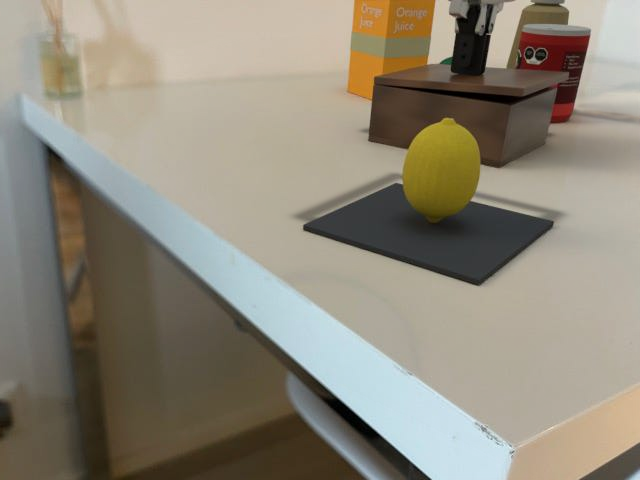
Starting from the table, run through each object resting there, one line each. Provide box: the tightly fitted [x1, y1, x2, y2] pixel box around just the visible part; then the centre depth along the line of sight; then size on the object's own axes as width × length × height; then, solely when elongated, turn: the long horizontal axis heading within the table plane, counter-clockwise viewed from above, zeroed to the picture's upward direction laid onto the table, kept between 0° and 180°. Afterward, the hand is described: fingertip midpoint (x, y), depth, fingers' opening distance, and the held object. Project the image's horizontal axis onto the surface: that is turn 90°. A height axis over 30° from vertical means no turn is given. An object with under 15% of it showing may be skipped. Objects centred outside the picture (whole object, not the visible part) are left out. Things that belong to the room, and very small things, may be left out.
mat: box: [302, 182, 555, 286], centre depth 51 cm, size 14×14×1 cm
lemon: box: [402, 118, 481, 223], centre depth 49 cm, size 6×6×8 cm
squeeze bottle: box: [506, 0, 570, 69], centre depth 98 cm, size 8×8×18 cm
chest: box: [367, 84, 557, 169], centre depth 73 cm, size 15×13×6 cm
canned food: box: [515, 24, 592, 123], centre depth 85 cm, size 8×8×11 cm
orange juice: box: [346, 0, 436, 101], centre depth 94 cm, size 8×9×20 cm
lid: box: [374, 63, 569, 97], centre depth 71 cm, size 16×13×1 cm
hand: (467, 73), depth 71 cm, fingers closed
